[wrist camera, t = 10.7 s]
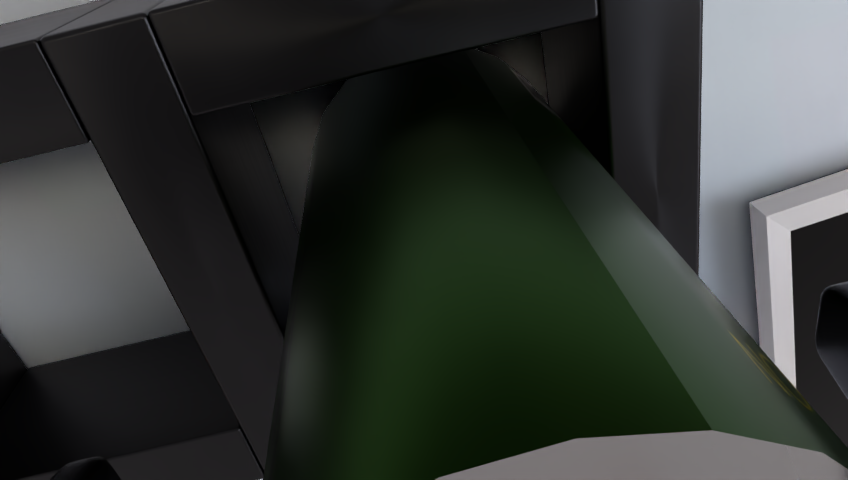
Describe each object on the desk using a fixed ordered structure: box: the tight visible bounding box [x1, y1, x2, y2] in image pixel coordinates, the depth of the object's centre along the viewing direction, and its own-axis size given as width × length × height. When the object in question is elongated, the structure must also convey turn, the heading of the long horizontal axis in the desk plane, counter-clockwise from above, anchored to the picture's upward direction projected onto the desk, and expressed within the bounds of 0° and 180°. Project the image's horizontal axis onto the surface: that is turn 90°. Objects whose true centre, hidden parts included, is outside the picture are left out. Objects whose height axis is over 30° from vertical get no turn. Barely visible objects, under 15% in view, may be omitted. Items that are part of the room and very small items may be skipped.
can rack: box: [0, 0, 703, 480], centre depth 13 cm, size 18×10×4 cm, turn 102°
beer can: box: [263, 49, 848, 480], centre depth 9 cm, size 5×5×12 cm
